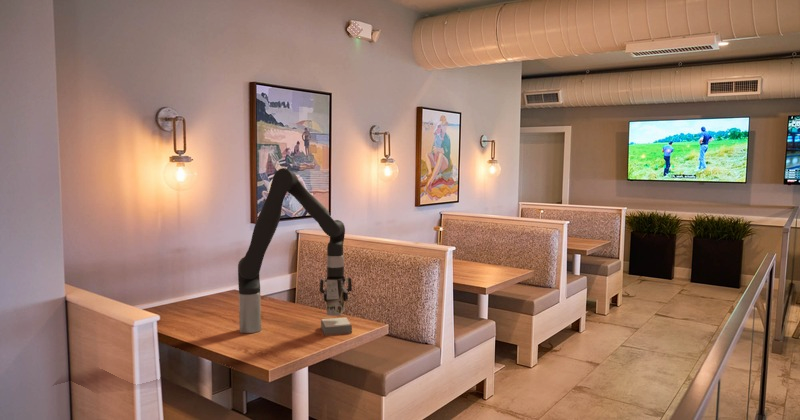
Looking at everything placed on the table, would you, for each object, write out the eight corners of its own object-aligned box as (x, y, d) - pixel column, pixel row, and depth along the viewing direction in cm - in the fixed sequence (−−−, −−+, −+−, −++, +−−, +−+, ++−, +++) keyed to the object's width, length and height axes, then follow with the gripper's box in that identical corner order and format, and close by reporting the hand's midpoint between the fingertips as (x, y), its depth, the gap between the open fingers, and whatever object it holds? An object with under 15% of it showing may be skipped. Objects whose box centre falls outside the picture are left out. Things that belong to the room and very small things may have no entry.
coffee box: (340, 316, 246) (340, 279, 245) (326, 315, 247) (325, 279, 246) (345, 310, 255) (344, 275, 254) (331, 310, 256) (331, 275, 255)
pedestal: (324, 335, 244) (324, 326, 244) (321, 327, 256) (320, 319, 256) (351, 333, 248) (351, 324, 247) (347, 325, 259) (346, 317, 259)
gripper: (320, 267, 244) (321, 304, 245) (352, 266, 248) (353, 302, 249) (318, 264, 251) (318, 300, 253) (349, 263, 255) (350, 298, 256)
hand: (335, 301), depth 251 cm, fingers closed on coffee box, 8 cm apart
